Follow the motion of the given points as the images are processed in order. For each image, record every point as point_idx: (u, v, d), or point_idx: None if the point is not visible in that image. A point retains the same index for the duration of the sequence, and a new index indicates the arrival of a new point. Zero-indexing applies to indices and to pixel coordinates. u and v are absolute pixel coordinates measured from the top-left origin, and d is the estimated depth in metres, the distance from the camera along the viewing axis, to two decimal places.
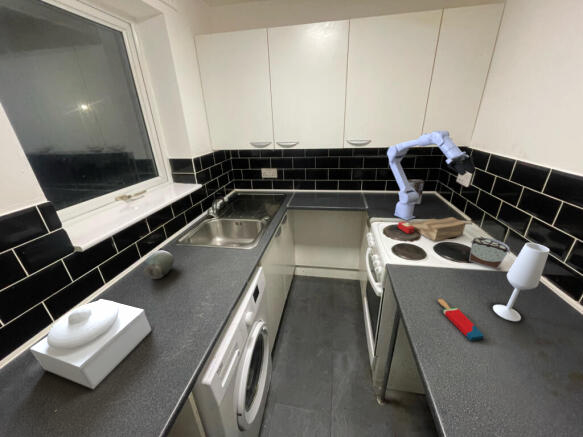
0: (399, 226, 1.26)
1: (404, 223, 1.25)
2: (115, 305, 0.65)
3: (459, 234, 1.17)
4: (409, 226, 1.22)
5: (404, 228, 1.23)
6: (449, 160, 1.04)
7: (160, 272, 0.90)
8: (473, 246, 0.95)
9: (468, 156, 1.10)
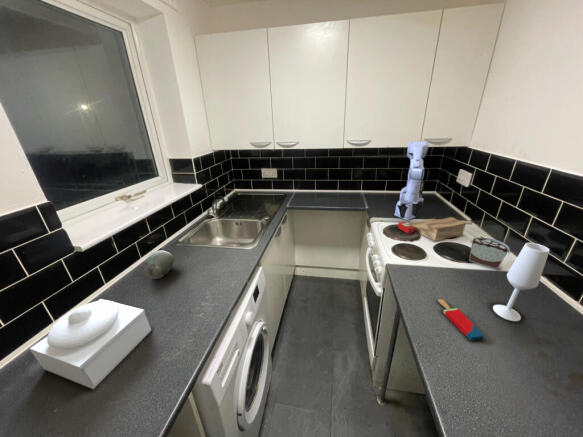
0: (399, 226, 1.26)
1: (404, 223, 1.25)
2: (115, 305, 0.65)
3: (459, 234, 1.17)
4: (409, 226, 1.22)
5: (404, 228, 1.23)
6: (399, 204, 1.16)
7: (160, 272, 0.90)
8: (473, 246, 0.95)
9: (422, 200, 1.19)
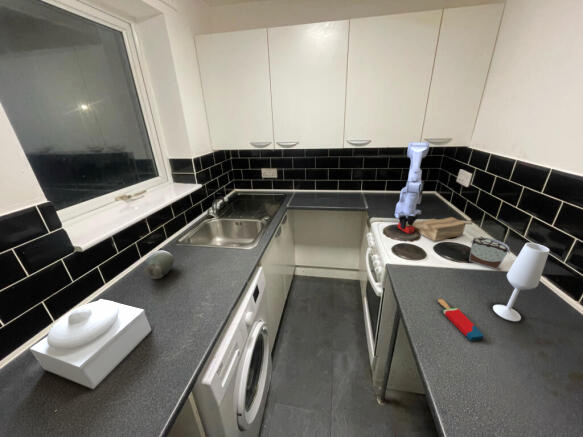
0: (399, 226, 1.26)
1: None
2: (115, 305, 0.65)
3: (459, 234, 1.17)
4: (409, 226, 1.22)
5: None
6: (397, 216, 1.19)
7: (160, 272, 0.90)
8: (473, 246, 0.95)
9: (420, 212, 1.22)
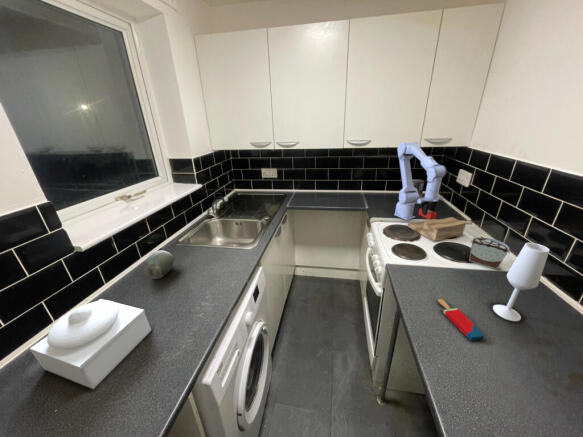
0: (420, 212, 1.25)
1: None
2: (115, 305, 0.65)
3: (459, 234, 1.17)
4: (431, 212, 1.20)
5: (426, 214, 1.21)
6: (419, 201, 1.17)
7: (160, 272, 0.90)
8: (473, 246, 0.95)
9: (442, 198, 1.20)
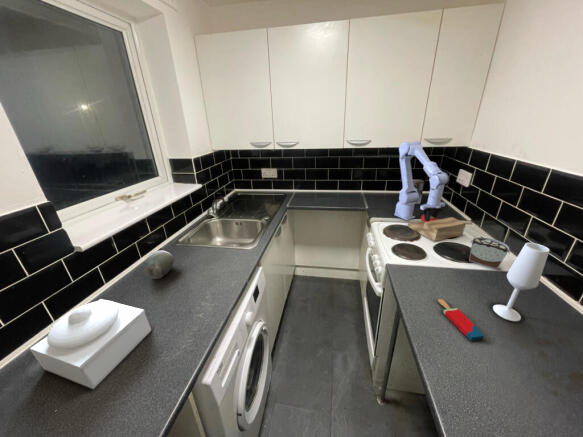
0: (423, 218, 1.27)
1: None
2: (115, 305, 0.65)
3: (459, 234, 1.17)
4: (433, 218, 1.22)
5: None
6: (422, 208, 1.19)
7: (160, 272, 0.90)
8: (473, 246, 0.95)
9: (444, 205, 1.22)
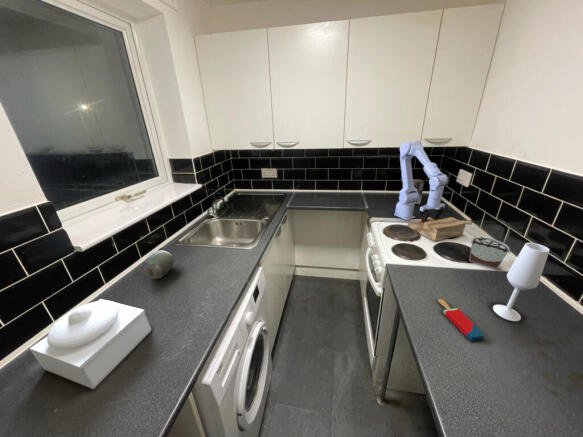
0: None
1: None
2: (115, 305, 0.65)
3: (459, 234, 1.17)
4: (433, 220, 1.23)
5: None
6: (422, 209, 1.20)
7: (160, 272, 0.90)
8: (473, 246, 0.95)
9: (444, 206, 1.23)
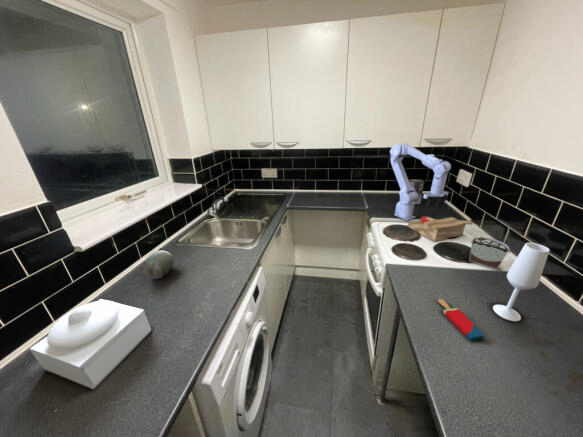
0: (422, 220, 1.27)
1: (427, 217, 1.26)
2: (115, 305, 0.65)
3: (459, 234, 1.17)
4: (433, 220, 1.23)
5: None
6: (425, 197, 1.21)
7: (160, 272, 0.90)
8: (473, 246, 0.95)
9: (447, 194, 1.24)
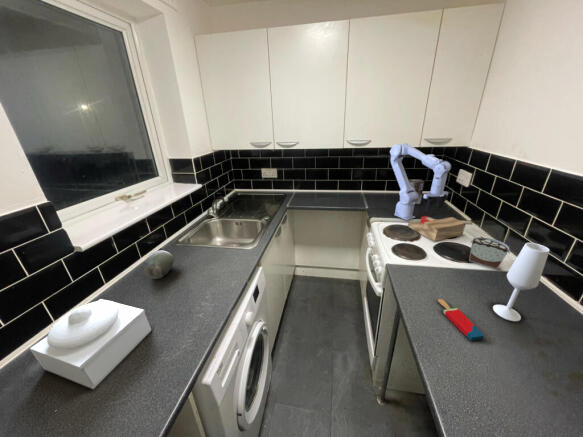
0: (422, 220, 1.27)
1: (427, 217, 1.26)
2: (115, 305, 0.65)
3: (459, 234, 1.17)
4: (433, 220, 1.23)
5: None
6: (425, 197, 1.21)
7: (160, 272, 0.90)
8: (473, 246, 0.95)
9: (447, 194, 1.24)
